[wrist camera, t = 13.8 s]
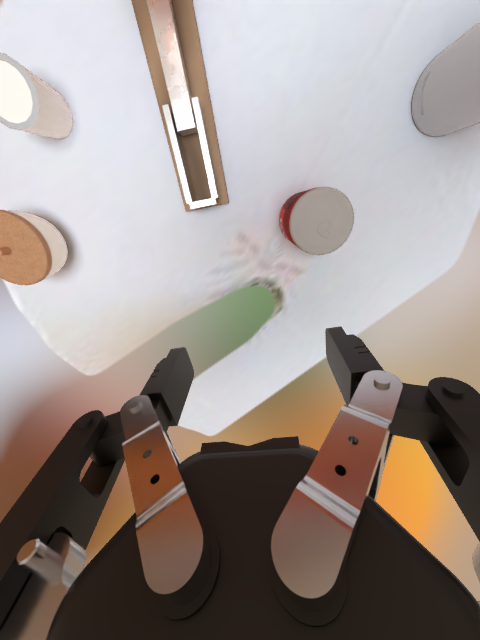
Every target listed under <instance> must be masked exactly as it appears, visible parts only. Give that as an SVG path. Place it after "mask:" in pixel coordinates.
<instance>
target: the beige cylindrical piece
mask: <svg viewBox="0 0 480 640" xmlns="http://www.w3.org/2000/svg"><path fill="white" fill-rule="evenodd" d="M0 122H1V123H2V124H4V125H6V126H7V127H9V128H11V129H16V130H20V131H25V132H29V133H34V134H39V135H43V136H48V137H52V138H58V139H61V138H64V137H67V136H68V134H69V133H70V132H71V130H72V125H73V119H72V113H71V110H70V108H69V106H68V103H67V102H66V101H65V100H64V98H63V97H62V96H61V95H60V94H59V93H58V92H56V91H55V90H54V89H52V88H51V87H50V86H48V85H47V84H46V83H44V82H43V81H42V80H41V79H39V78H38V77H37V76H35V75H34V74H33V73H31V72H30V71H29V70H28V69H26V68H25V67H24V66H22V65H21V64H20V63H18V62H17V61H15V60H14V59H13V58H11V57H10V56H8V55H7V54H4V53H0Z"/></svg>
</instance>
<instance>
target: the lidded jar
mask: <svg viewBox="0 0 480 640" xmlns="http://www.w3.org/2000/svg"><path fill="white" fill-rule="evenodd" d="M67 256H68V249H67V244H66V241H65V239H64V237H63V236H62V234H61V233H60V232H59V231H58V230H57V228H55V227H54V226H53V225H52V224H51V223H49V222H48V221H46V220H45V219H43V218H41V217H38V216H36V215H33V214H30V213H25V212H20V211H6V210H0V278H2V279H4V280H6V281H8V282H11V283H14V284H19V285H31V284H35V283H38V282H40V281H42V280H43V279H46V278H48V277H50V276H52V275H54V274H55V273H57V272H58V271H59V270H60V269H61V268H62V267H63V266H64V264H65V262H66V260H67Z"/></svg>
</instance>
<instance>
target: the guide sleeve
mask: <svg viewBox="0 0 480 640" xmlns="http://www.w3.org/2000/svg"><path fill="white" fill-rule="evenodd" d="M191 99H192V104H193V109H194V114H195V118H196V123H197V128H198V133H199V138H200V143H201V147H202V152H203V157H204V162H205V167H206V172H207V176H208V181H209V186H210V191H211V196H212V198H211V199H206V200H201V201H196V199H195V195H194V191H193V187H192V182H191V178H190V174H189V170H188V165H187V161H186V157H185V153H184V148H183V144H182V140H181V136H180V133H179V132H178V131H177V126H176V122H175V118H174V114H173V110H172V109H171V107H170V106H169V105H168V104H166V105H163V106H162V108H163V111H164V115H165V119H166V123H167V127H168V131H169V135H170V139H171V143H172V147H173V151H174V155H175V159H176V163H177V167H178V171H179V175H180V179H181V183H182V187H183V191H184V195H185V199H186V203H187V204H190V208H191V209H197V208H201V207H206V206H211V205H216V204H218V200H217V198H220V197H219V192H218V186H217V181H216V176H215V171H214V166H213V161H212V155H211V150H210V145H209V140H208V135H207V130H206V125H205V119H204V114H203V109H202V106H201V103H200V101H199V99H198V97H194V98H191Z"/></svg>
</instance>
